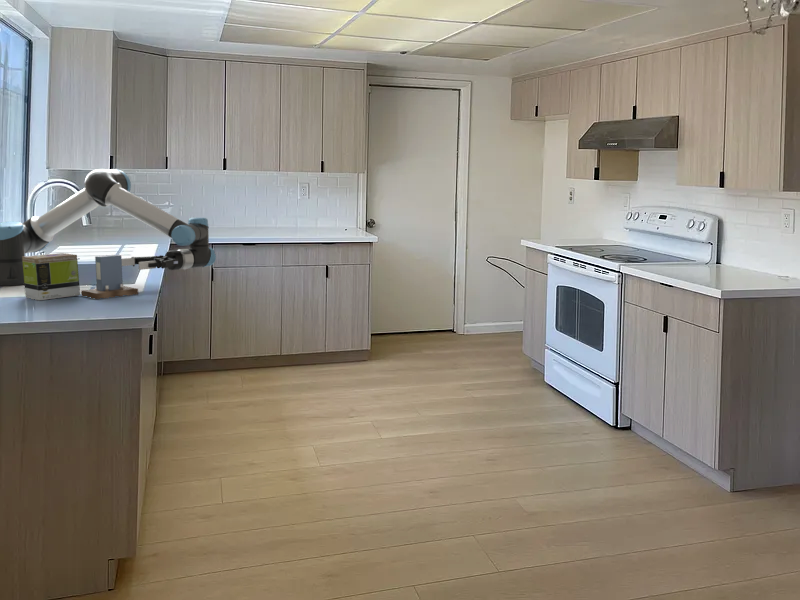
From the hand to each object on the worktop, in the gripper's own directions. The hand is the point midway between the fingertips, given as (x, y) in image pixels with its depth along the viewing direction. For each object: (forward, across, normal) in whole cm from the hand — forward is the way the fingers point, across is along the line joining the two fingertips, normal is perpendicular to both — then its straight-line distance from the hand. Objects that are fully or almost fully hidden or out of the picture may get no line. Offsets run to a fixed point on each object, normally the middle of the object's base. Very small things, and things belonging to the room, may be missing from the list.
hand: (128, 264), depth 277 cm
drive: (+8, 0, -8) cm, 11 cm away
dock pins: (+8, 0, -8) cm, 11 cm away
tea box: (+23, +11, -11) cm, 28 cm away
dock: (+8, 0, -10) cm, 13 cm away
